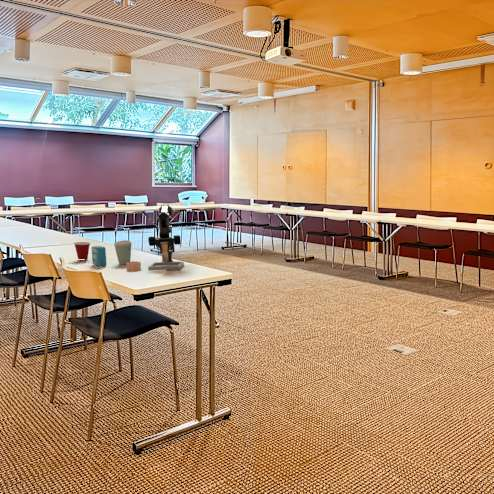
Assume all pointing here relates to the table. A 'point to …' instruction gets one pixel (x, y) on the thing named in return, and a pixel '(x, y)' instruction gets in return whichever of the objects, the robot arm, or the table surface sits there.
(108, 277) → the table surface
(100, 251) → the data package
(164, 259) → the dowel
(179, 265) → the tray
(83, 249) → the plastic cup
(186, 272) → the table surface
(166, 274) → the table surface
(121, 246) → the disposable coffee cup
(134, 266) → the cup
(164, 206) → the robot arm
